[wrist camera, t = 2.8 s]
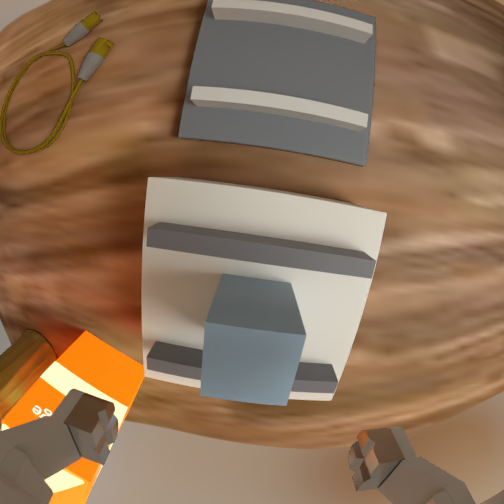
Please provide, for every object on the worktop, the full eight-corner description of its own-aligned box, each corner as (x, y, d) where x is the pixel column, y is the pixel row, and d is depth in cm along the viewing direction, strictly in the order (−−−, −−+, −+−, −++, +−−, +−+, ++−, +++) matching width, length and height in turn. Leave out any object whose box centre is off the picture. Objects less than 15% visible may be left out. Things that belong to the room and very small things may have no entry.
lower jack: (371, 22, 17) (383, 7, 14) (361, 166, 21) (375, 165, 18) (212, -5, 17) (207, -23, 14) (181, 138, 21) (170, 133, 18)
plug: (291, 283, 17) (306, 335, 11) (278, 341, 18) (286, 405, 12) (222, 273, 17) (205, 321, 11) (216, 332, 18) (199, 395, 12)
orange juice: (149, 368, 26) (67, 540, 6) (128, 413, 28) (67, 548, 8) (84, 328, 25) (-37, 463, 6) (73, 379, 27) (-12, 495, 8)
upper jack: (355, 203, 22) (402, 217, 14) (318, 357, 25) (336, 418, 17) (176, 177, 21) (134, 177, 14) (165, 336, 25) (135, 392, 17)
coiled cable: (125, 111, 20) (114, 107, 18) (9, 172, 22) (-3, 173, 20) (114, 10, 18) (106, 1, 16) (5, 79, 19) (-5, 76, 17)
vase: (27, 361, 27) (-34, 423, 13) (19, 322, 25) (-55, 381, 12) (61, 378, 27) (2, 453, 13) (54, 338, 26) (-22, 413, 12)
